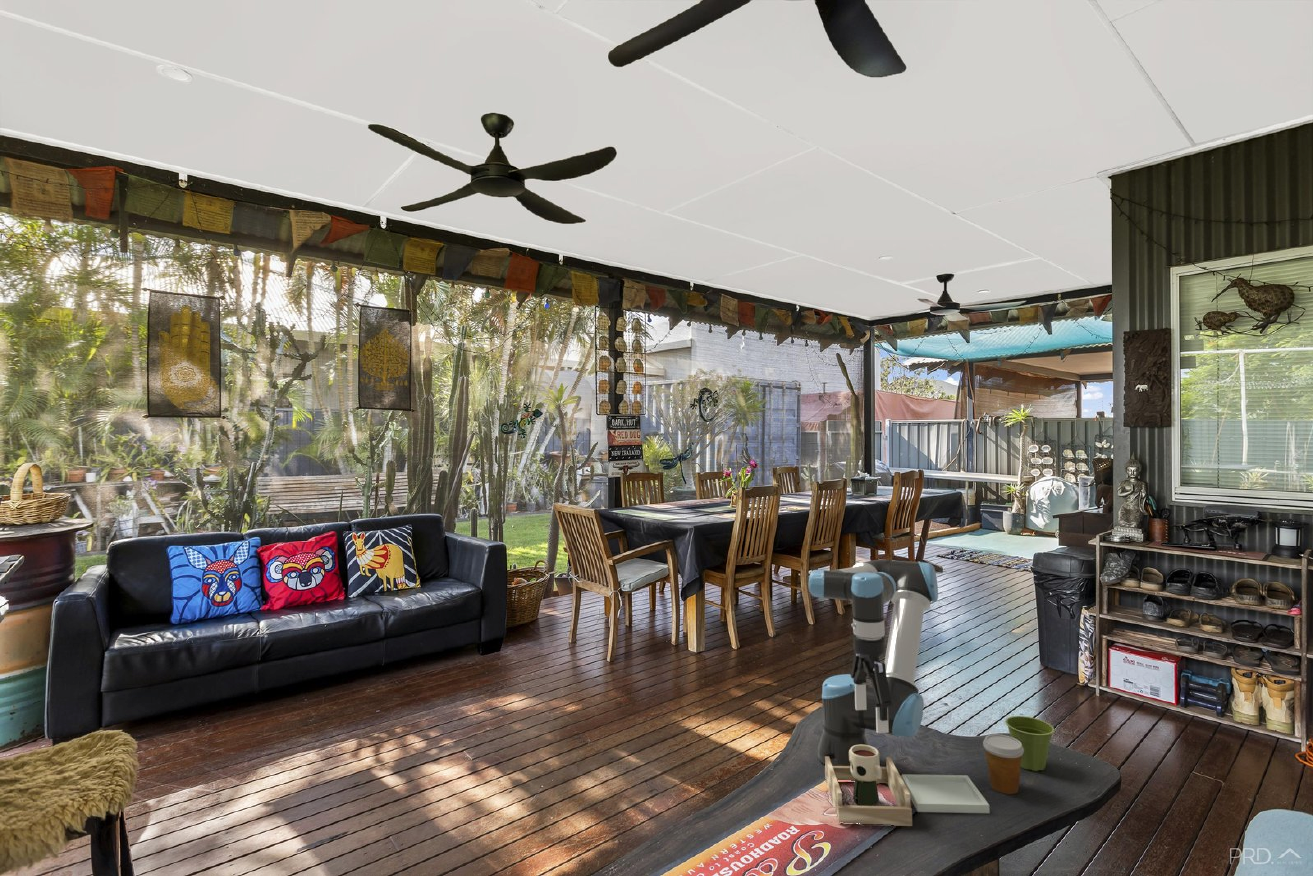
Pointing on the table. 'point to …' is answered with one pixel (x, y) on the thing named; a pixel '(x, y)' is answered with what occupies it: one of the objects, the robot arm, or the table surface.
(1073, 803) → the table surface
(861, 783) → the character mug
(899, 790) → the wooden frame
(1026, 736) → the plant pot
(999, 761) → the disposable coffee cup
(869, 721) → the robot arm
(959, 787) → the tray
